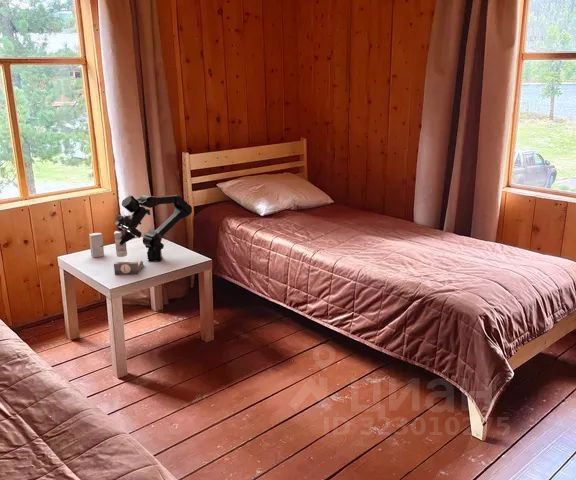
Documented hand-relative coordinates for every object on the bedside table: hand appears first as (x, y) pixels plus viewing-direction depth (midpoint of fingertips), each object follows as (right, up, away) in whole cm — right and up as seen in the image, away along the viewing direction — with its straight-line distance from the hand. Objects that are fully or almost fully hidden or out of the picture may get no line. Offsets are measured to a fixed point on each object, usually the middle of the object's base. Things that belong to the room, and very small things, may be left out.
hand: (117, 243), depth 273 cm
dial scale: (+5, -13, +3) cm, 14 cm away
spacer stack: (+1, -6, +3) cm, 7 cm away
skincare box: (-18, -7, +24) cm, 31 cm away
